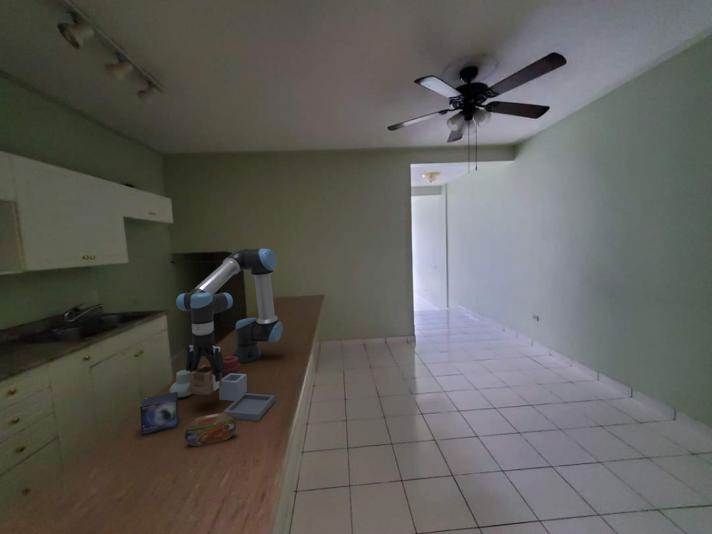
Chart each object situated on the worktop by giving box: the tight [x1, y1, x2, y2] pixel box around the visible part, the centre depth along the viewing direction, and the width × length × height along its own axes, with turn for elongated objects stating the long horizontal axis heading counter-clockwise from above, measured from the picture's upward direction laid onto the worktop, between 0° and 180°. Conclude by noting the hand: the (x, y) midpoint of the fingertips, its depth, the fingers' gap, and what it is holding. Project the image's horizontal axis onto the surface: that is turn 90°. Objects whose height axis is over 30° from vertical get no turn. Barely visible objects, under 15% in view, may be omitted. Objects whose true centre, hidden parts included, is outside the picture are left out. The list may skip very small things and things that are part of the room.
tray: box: [222, 392, 276, 422], centre depth 111 cm, size 14×14×2 cm
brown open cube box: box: [189, 364, 222, 396], centre depth 112 cm, size 8×8×8 cm
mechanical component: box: [221, 355, 241, 379], centre depth 134 cm, size 12×10×10 cm
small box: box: [139, 392, 180, 436], centre depth 100 cm, size 11×6×10 cm, turn 118°
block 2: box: [218, 373, 248, 402], centre depth 122 cm, size 8×8×8 cm
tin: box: [184, 412, 237, 447], centre depth 92 cm, size 15×3×8 cm, turn 108°
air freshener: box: [169, 369, 192, 398], centre depth 123 cm, size 11×8×10 cm
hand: (206, 388), depth 112 cm, fingers closed on brown open cube box, 8 cm apart
